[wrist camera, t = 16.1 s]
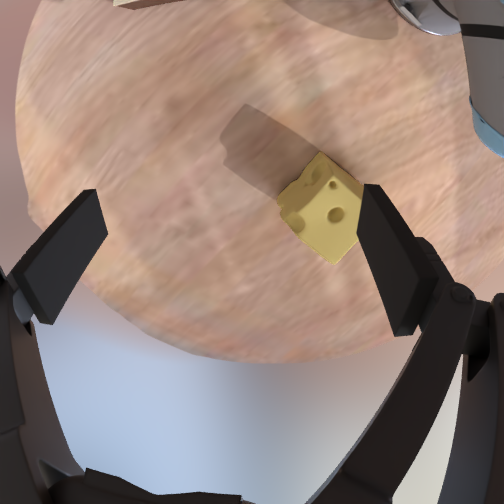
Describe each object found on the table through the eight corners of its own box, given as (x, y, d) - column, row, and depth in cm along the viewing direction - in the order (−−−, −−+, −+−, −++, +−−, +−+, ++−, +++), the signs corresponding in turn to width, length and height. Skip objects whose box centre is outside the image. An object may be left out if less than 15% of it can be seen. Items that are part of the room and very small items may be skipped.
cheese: (276, 195, 49) (278, 230, 41) (321, 145, 43) (335, 170, 35) (323, 230, 52) (333, 268, 44) (368, 186, 47) (388, 218, 39)
